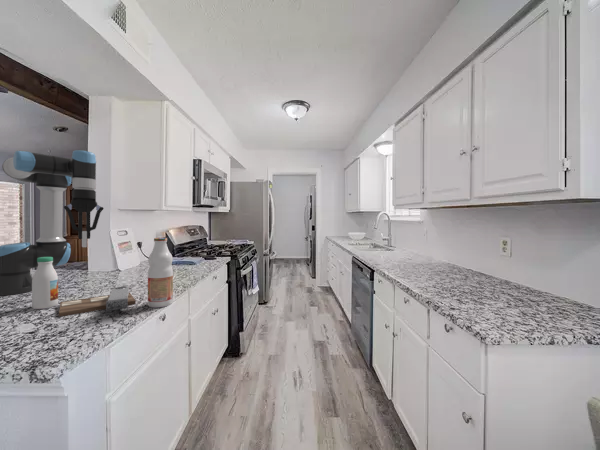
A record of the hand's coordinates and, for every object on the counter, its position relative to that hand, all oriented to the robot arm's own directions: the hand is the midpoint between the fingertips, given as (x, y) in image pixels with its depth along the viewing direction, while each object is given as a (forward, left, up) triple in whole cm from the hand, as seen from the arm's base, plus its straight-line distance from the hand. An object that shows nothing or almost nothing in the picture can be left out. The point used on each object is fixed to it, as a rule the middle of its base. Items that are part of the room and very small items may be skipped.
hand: (84, 246), depth 111 cm
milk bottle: (-7, -12, -24) cm, 28 cm away
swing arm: (+10, +11, -22) cm, 26 cm away
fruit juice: (+18, +25, -24) cm, 39 cm away
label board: (+3, +5, -24) cm, 25 cm away
